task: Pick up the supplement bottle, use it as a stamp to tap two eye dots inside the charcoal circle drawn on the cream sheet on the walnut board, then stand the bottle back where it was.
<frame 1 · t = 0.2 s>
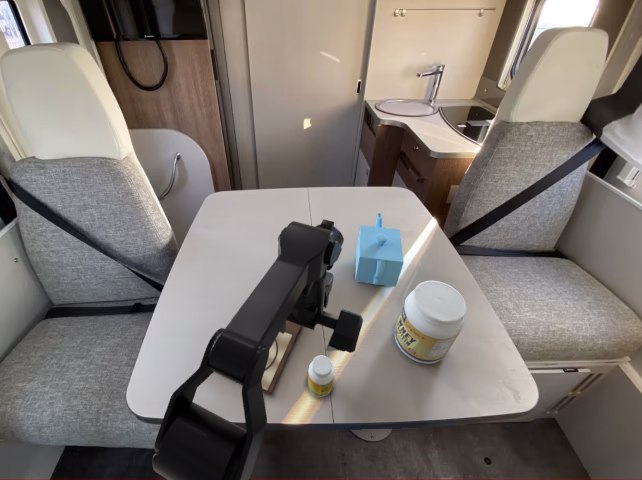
hand: (305, 340, 59), 16 cm above the table, tool pointing down, fingers open, 9 cm apart
supplement bottle: (320, 384, 68), on the table
teapot: (373, 266, 94), on the table
drawing board: (258, 344, 75), on the table
supplement tub: (418, 341, 75), on the table
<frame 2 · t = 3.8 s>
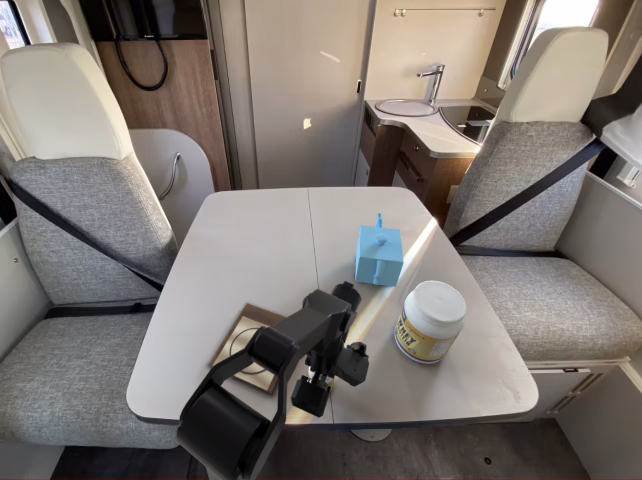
hand: (320, 379, 66), 3 cm above the table, tool pointing down, fingers closed on supplement bottle, 5 cm apart
supplement bottle: (320, 384, 68), on the table, touching gripper
everything else where it was.
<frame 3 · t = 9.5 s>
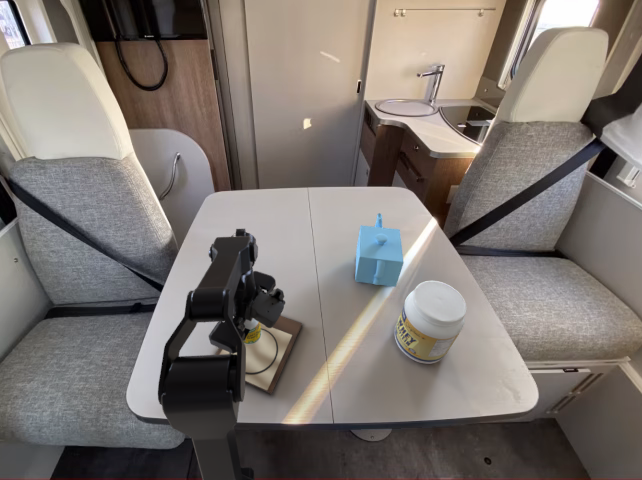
hand: (249, 329, 71), 7 cm above the table, tool pointing down, fingers closed on supplement bottle, 5 cm apart
supplement bottle: (250, 335, 73), point 4 cm above the table, touching gripper
everything else where it was.
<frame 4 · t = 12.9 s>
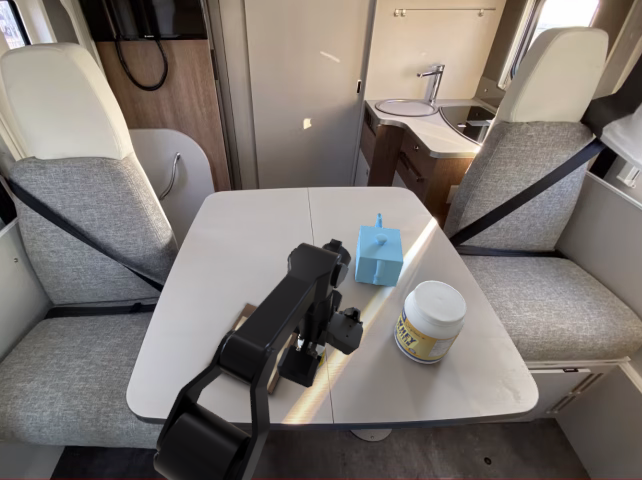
hand: (311, 352, 61), 12 cm above the table, tool pointing down, fingers closed on supplement bottle, 5 cm apart
supplement bottle: (311, 359, 63), point 9 cm above the table, touching gripper
everything else where it was.
when the fingers open (3 cm above the table, at t = 15.6 s): supplement bottle stays where it is, on the table.
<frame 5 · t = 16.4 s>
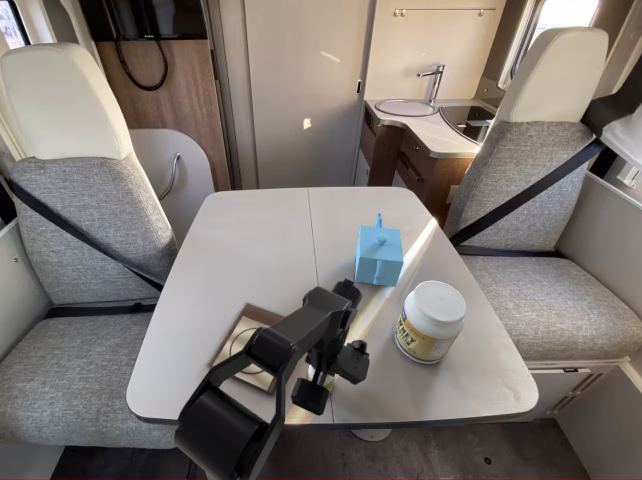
hand: (320, 378, 66), 3 cm above the table, tool pointing down, fingers open, 9 cm apart
supplement bottle: (319, 385, 68), on the table
everything else where it was.
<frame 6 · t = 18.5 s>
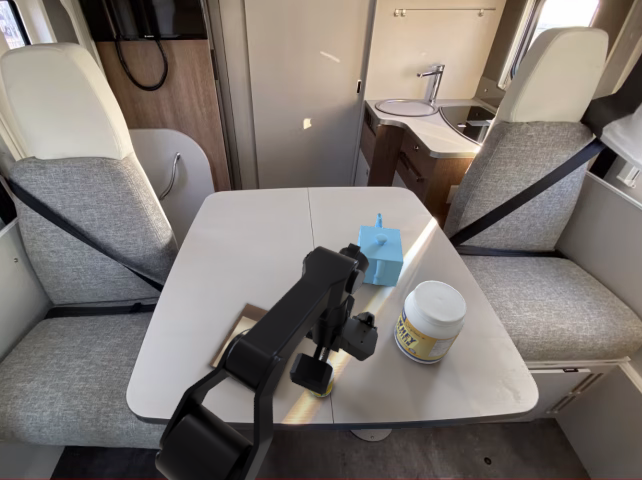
hand: (322, 357, 60), 12 cm above the table, tool pointing down, fingers open, 9 cm apart
nothing on the table moved.
at the end: supplement bottle 0.1 cm from the target spot, on the table; supplement bottle tilted 0°; teapot moved 0.2 cm from its start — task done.
